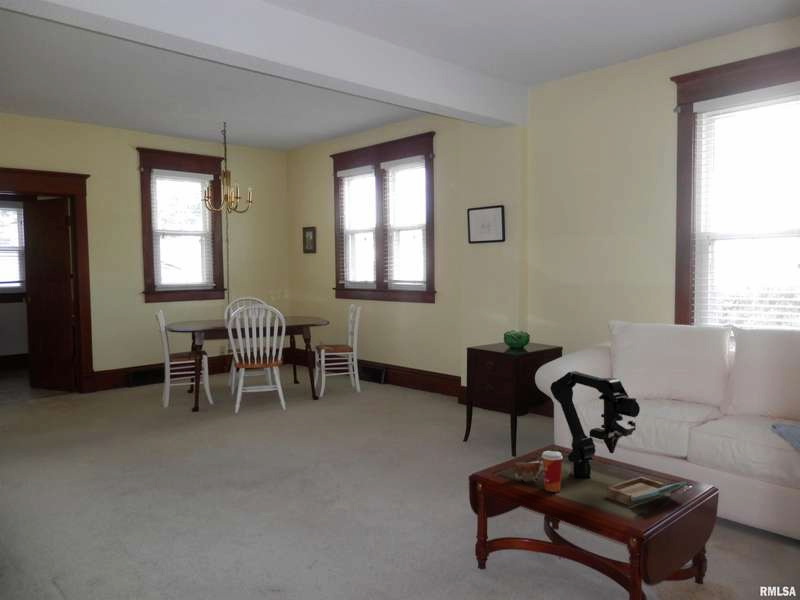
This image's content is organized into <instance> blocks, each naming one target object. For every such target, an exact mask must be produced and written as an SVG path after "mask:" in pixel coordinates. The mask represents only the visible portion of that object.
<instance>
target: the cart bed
mask: <svg viewBox="0 0 800 600" xmlns="http://www.w3.org/2000/svg"><path fill="white" fill-rule="evenodd" d="M664 486H665V484H664V483H663V482H660V481H656V480H654V479H650V478H648V477H647V478H646V477H644V476H641V475H640V476H638V477H635V478H632V479H628V480H626V481H622V482H619V483H615V484H612V485H609V486H607V487H606V488H605V489H606V496H605V497H606V498H609V499H611V500H614V501H616V502H620V503H623V504H625V505H628V506H631V505H634V504H637V503H640V502H642V501H646V500H648V499H651V498H654V497H656V496H658V495H655V496H652V497H647V498H643V499H638V500H634V501H632V500H631V498H632V497H635V496H638V495H641V494H644V493H647V492H650V491H653V490H655V489H658V488H661V487H664Z"/></svg>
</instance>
